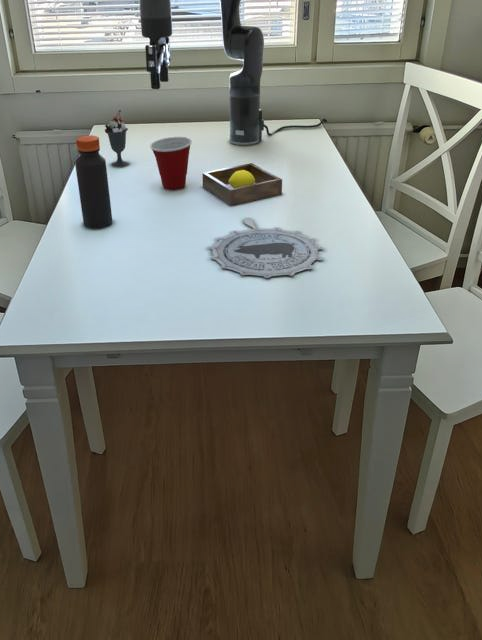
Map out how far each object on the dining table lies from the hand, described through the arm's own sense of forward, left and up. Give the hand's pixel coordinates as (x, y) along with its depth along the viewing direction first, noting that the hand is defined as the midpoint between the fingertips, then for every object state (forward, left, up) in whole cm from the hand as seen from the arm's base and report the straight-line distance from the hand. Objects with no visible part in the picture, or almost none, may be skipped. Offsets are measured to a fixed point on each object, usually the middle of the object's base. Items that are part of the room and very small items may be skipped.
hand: (160, 85), depth 162 cm
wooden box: (-12, +20, -24) cm, 34 cm away
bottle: (+27, +21, -24) cm, 42 cm away
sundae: (+7, -17, -24) cm, 30 cm away
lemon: (-12, +20, -24) cm, 34 cm away
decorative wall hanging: (0, +51, -24) cm, 57 cm away
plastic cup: (+2, +8, -24) cm, 26 cm away
